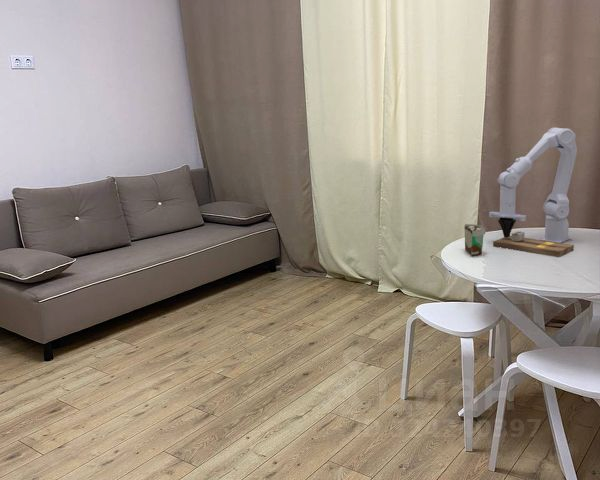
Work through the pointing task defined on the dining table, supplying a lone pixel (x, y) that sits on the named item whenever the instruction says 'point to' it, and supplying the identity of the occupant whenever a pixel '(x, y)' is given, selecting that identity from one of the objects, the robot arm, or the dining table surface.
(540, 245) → the fader console
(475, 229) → the food container
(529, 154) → the robot arm
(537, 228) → the dining table surface
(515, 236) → the fader knob
